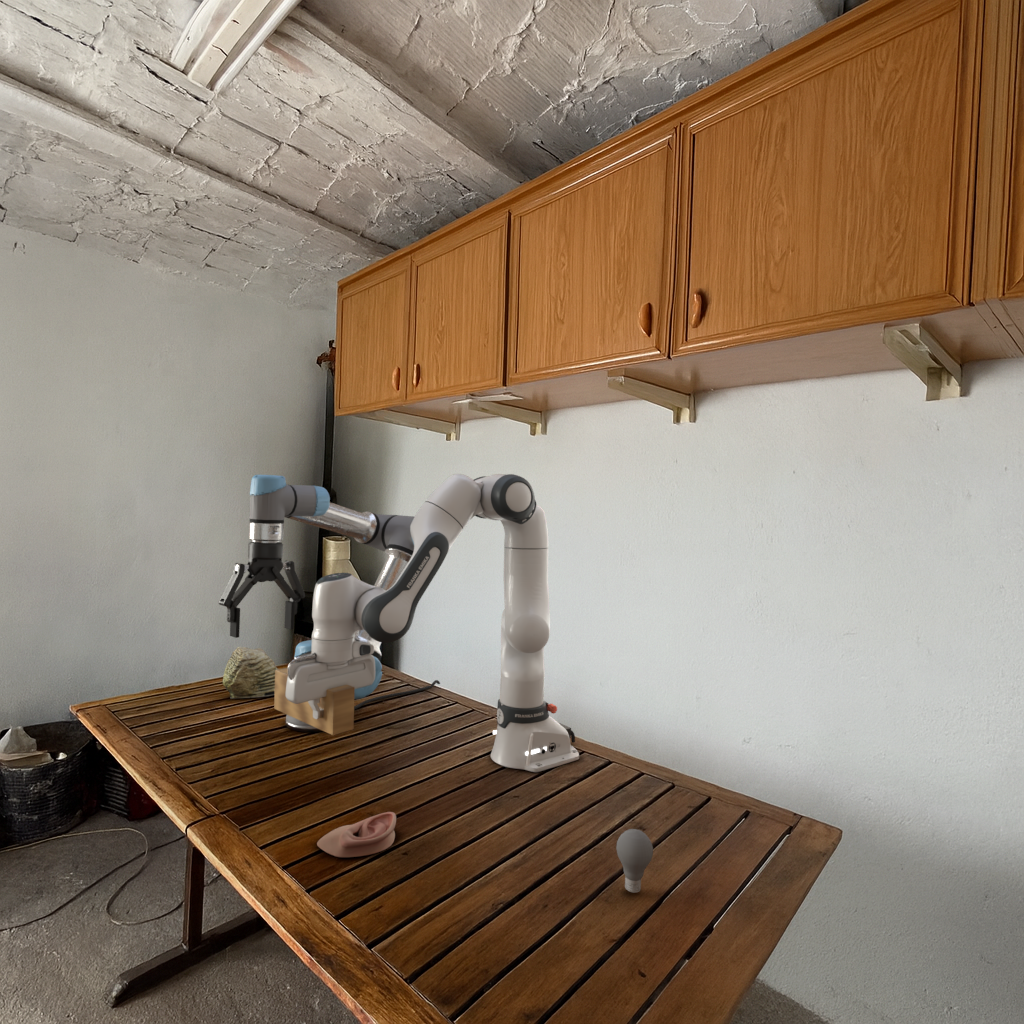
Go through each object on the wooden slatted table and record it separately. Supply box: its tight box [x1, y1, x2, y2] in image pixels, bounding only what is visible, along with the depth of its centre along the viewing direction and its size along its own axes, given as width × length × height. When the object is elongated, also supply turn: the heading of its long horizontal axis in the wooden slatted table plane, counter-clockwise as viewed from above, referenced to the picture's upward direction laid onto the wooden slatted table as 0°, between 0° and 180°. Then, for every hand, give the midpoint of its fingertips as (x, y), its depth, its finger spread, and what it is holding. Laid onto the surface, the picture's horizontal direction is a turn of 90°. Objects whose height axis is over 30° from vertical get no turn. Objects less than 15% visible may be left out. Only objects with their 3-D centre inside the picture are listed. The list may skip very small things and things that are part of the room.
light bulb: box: [615, 828, 654, 894], centre depth 106 cm, size 6×6×10 cm
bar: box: [273, 667, 355, 736], centre depth 140 cm, size 23×5×9 cm, turn 50°
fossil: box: [222, 646, 279, 699], centre depth 198 cm, size 9×18×15 cm, turn 132°
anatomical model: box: [316, 811, 397, 858], centre depth 117 cm, size 13×4×12 cm
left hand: (262, 632), depth 147 cm, fingers open, 13 cm apart
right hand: (331, 714), depth 135 cm, fingers closed on bar, 5 cm apart
